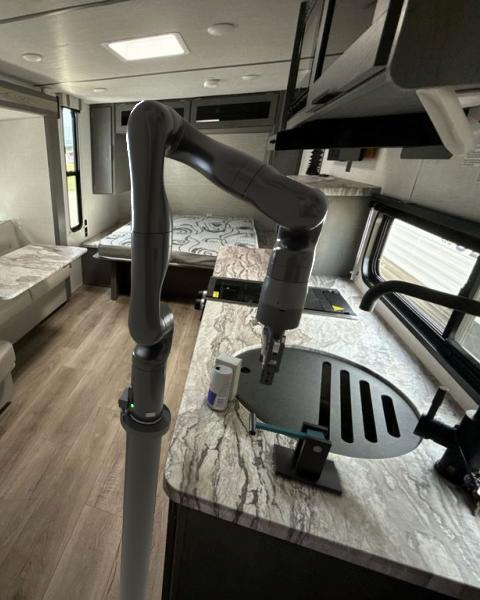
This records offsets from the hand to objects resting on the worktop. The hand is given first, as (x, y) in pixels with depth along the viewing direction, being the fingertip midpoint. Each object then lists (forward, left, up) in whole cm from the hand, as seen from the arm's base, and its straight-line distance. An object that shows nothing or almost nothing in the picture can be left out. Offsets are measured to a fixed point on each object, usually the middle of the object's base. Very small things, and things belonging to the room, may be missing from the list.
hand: (264, 372), depth 64 cm
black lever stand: (+12, 0, -22) cm, 25 cm away
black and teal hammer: (+6, 0, -15) cm, 16 cm away
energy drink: (-8, +14, -22) cm, 28 cm away
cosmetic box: (-7, +20, -22) cm, 31 cm away
